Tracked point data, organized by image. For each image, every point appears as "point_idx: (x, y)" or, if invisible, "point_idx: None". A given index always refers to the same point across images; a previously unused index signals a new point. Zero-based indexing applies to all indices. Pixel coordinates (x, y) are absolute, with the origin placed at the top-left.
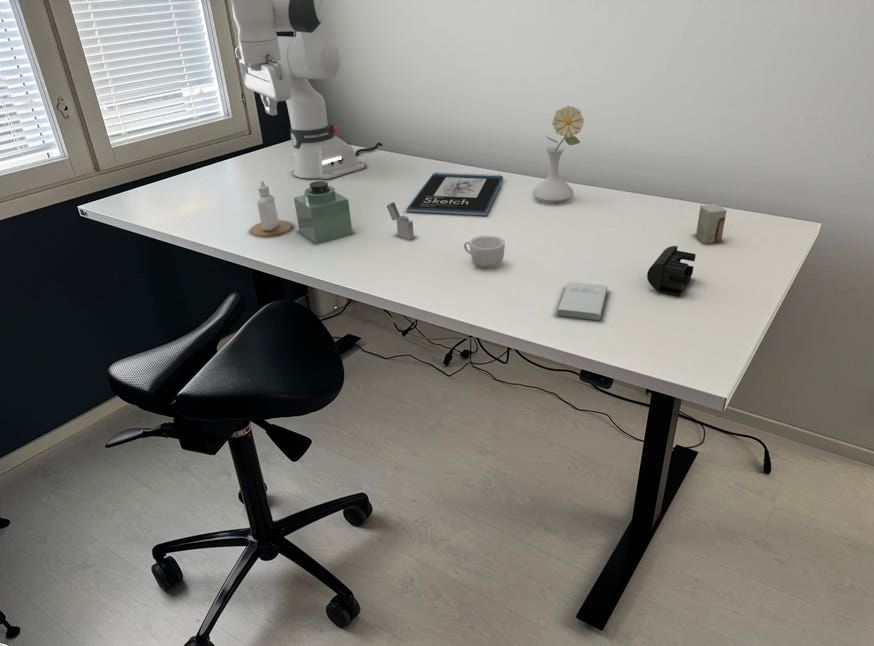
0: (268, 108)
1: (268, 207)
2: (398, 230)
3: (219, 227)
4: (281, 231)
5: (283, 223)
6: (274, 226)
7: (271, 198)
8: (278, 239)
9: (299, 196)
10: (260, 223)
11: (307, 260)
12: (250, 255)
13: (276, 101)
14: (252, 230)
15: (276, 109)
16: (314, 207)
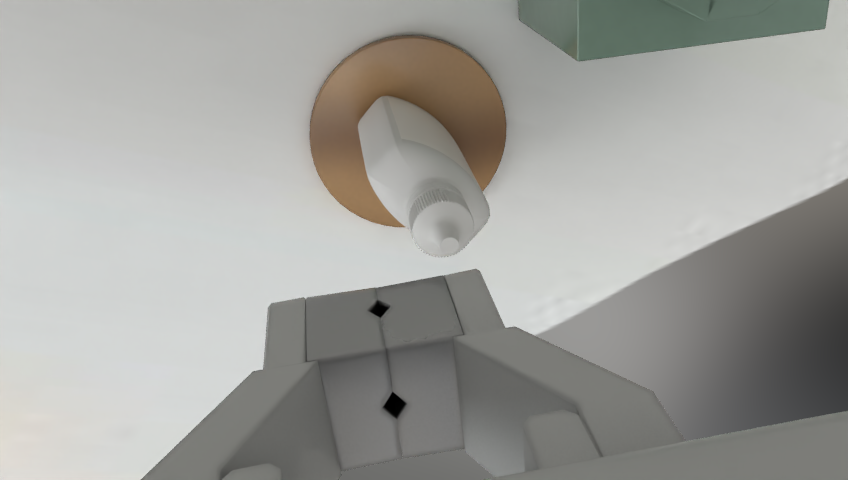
0: (460, 439)
1: (479, 186)
2: None
3: (246, 331)
4: (494, 109)
5: (393, 70)
6: (449, 133)
7: (455, 169)
8: (547, 137)
9: (585, 22)
10: (326, 172)
11: (841, 90)
12: (633, 273)
13: (630, 394)
14: (400, 224)
15: (493, 306)
16: (828, 3)
